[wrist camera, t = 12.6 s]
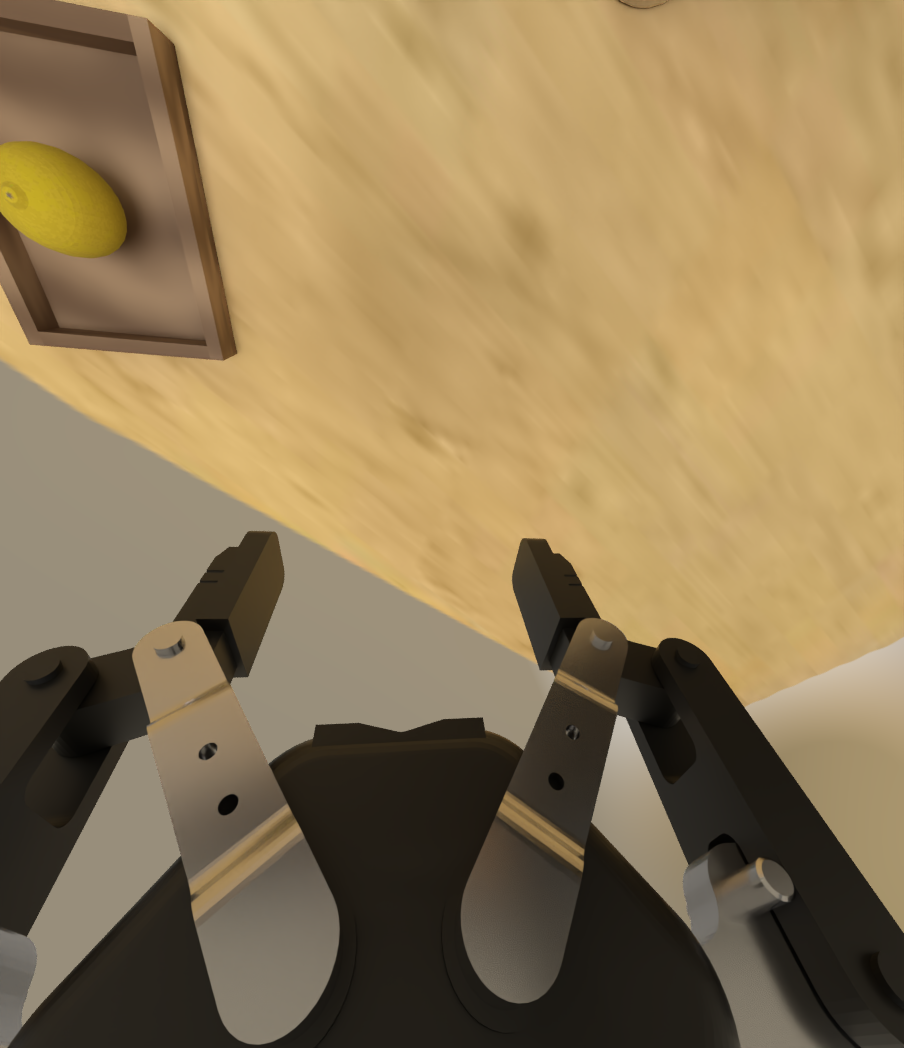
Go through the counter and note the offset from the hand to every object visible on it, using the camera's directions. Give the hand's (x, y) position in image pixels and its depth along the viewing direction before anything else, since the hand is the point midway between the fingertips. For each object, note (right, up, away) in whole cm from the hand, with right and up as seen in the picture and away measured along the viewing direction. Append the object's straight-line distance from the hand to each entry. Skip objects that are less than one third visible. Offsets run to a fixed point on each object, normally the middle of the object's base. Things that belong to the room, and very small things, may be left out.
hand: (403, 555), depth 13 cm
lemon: (-23, +24, +14) cm, 36 cm away
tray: (-24, +24, +15) cm, 37 cm away
